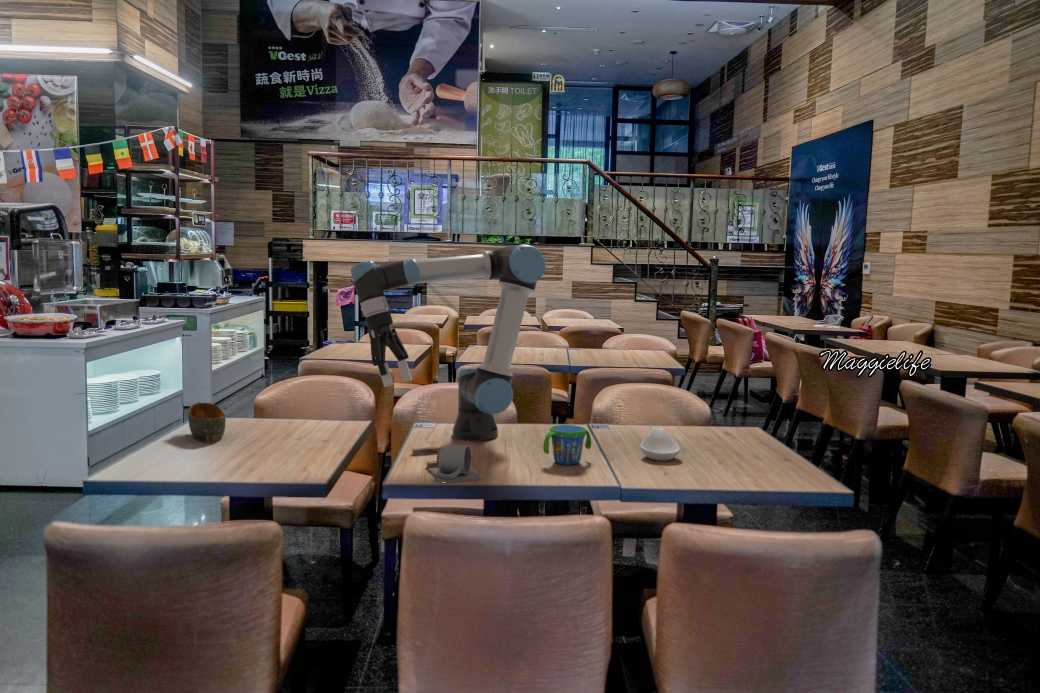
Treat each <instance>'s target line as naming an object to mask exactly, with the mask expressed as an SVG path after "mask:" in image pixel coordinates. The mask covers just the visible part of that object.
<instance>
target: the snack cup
mask: <svg viewBox="0 0 1040 693" xmlns="http://www.w3.org/2000/svg"><path fill="white" fill-rule="evenodd" d="M590 434H591V433H590V432H589V430H587V429H586V427H583V426H579V425H574V424H573V425H572V424H555V425H553V426H551V427H549V431H548V432H547V434H546V435H545V437H544V441H543V446H542V448H543V452H544V454H546V455H549V454H550V450H549V449H550V439H551V444H552V453H553V460H554V461H555V463H556V464H560V465H564V466H571V465H575V464H578V465H579V464H580V461H581V458H582V453H583V448H584V446H585V449H588V450H590V449H591V447H592V438H591V435H590ZM585 436H586V437H585ZM585 438H586V439H585ZM584 439H585V444H584Z"/></svg>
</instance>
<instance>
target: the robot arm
mask: <svg viewBox="0 0 1040 693" xmlns="http://www.w3.org/2000/svg"><path fill="white" fill-rule="evenodd" d="M546 268H547V267H546V259H545V256H544V255H543V253H542V252H541V250H539V248H537V247H535V246H534V245H529V244H523V243H522V244H518V245H509V246H504V247H500V248H496V249H490V250H483V251H482V252H481V253H480V254H468V255H467V254H466V255H458V256H445V257H444V256H443V257H434V258H431V257H430V258H421V259H414V258H409V259H403V260H398V261H397V260H395V261H384V262H383V263H382V264H380V265H379V266H378V265H376V264H375V262H374V261H373V260H368V261H362V262H359V263H357V264H355V265H353V266H352V267H351V268H350V274H351V279H352V282H353V283H352V284H353V286H354V289H355V292H356V296H357V298H358V301H359V305H360V311H362V314H363V316H364V317H365V320H364V321H365V323H366V327H367V330H368V336H369V337H368V338H369V341H370V342H369V343H370V352H371V355H370V356H371V363H372V365H373V366H374V367H376V366H377V368H378V371H379V375H380V377H381V380H382V385H383V387H384V388H387V387H390V386H393V385H395V384H394V381H393V380H394V379H393V377H392V374H391V371H390V367H389V365H388V362H386V351H387V348H386V347H388V348H389V350H390V351H391V353H392V354H393V356H394V357H395V358H396V360H397V362H396V363H397V366H398V370H399V372H400V375H401V376H400V377H401V378H402V383H407V382H410V381H412V380H413V378H412V375H411V370H410V369H409V365H408V361H407V359H409V353H408V351H407V350H406V348H405V346H404V344H403V343H402V341H401V339H400V337H399V335H398V332H397V329H396V328H395V327H394V328H393V327H392V328H390V326H391V325H393V323H394V322H393V321H394V320H393V318H392V314H391V312H390V311H389V309H390V307H389V303H388V300H387V298H386V296H385V295H386V294H385V292H388V291H392V290H395V289H399V288H403V287H406V286H407V287H408V286H412V285H414V284H424V283H425V284H426V283H437V282H447V281H459V280H469V279H481V278H483V279H484V280H485V281H492V280H493V281H495V280H496V281H497V280H498V284H499V286H500V288H501V292H500V296H499V299H498V304H497V308H496V312H495V316H494V319H493V323H492V328H491V332H490V335H489V340H488V344H487V346H486V352H485V354H484V360H483V362H482V363H481V364H479V365H477V367H471V368H470V367H468V368H467V367H466V368H465V367H464V368H463V367H462V368H461V369H459V370H458V371H459V372H458V376H457V380H458V381H457V382H458V388H457V389H458V395H457V396H458V397H457V399H458V400H457V402H458V405H457V408H458V409H457V416H456V419H455V421H454V424H453V427H452V437H453V436H454V437H453V438H455V439H458V438H459V439H458V440H465V441H487V440H492V439H495V438H497V437H498V433H499V429H498V425H497V422H496V418H495V415H498V414H499V415H500V414H502V413H503V412H505V411H506V410H507V409H508V408H509V407H510V405H511V404H512V402H513V398H514V391H513V388H512V381H513V377H514V375H513V373H512V371H511V365H512V362H513V359H514V358H513V357H514V354H515V350H516V345H517V343H518V342H517V340H518V337H519V334H520V329H521V326H522V321H523V318H524V313H525V309H526V306H527V303H528V298H529V296H531V295H532V294H533V293H534V292H535V289H536V287H537V282H538V281H540V279H542V277H543V276H544V274H545V272H546Z"/></svg>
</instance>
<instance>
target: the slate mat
mask: <svg viewBox="0 0 1040 693" xmlns="http://www.w3.org/2000/svg"><path fill="white" fill-rule="evenodd" d="M427 470H429V471H430V472H429V473H430V474H432V473H433V474H434V475H435V476H436V477H437V478H438V479H439V480H440V481H441V482H451V483H460V482H461V483H462V482H471V481H470V480H472V481H479V480H480V481H481V479H482V480H483V476H481V475H480V474H479V473H477V472H476V471H474V470H473V469H472V468H470V471H469V473H468V474H459V475H458V476H456V477H455V478H452V479H444V478H441V477H440V476H439V472H438V468H427ZM441 473H442V474H451V473H444V472H441ZM433 474H432V475H433ZM434 475H433V476H434ZM435 476H434V477H435ZM436 477H435V478H436ZM437 478H436V479H437ZM438 479H437V480H438ZM439 480H438V481H439ZM440 481H439V482H440ZM441 482H440V483H441Z"/></svg>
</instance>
